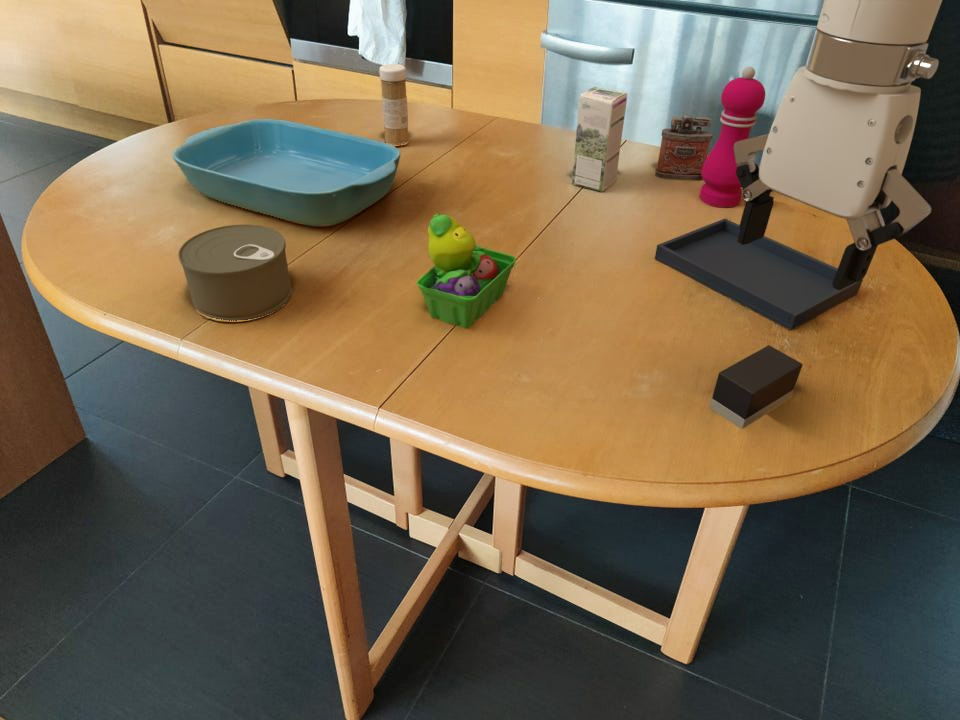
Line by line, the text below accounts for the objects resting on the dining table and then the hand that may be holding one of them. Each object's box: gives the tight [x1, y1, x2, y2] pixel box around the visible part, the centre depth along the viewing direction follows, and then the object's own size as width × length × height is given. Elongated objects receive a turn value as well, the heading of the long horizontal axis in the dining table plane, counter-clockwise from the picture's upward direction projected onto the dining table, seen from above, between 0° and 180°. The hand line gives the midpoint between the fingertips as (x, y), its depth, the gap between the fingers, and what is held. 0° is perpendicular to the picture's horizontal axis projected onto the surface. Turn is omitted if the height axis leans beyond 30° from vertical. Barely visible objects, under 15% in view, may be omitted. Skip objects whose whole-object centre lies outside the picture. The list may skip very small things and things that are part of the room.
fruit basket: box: [416, 213, 517, 330], centre depth 83 cm, size 11×9×11 cm
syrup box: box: [571, 86, 628, 193], centre depth 113 cm, size 6×6×14 cm
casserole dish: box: [171, 118, 401, 228], centre depth 110 cm, size 37×22×7 cm, turn 61°
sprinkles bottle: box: [378, 63, 410, 145], centre depth 127 cm, size 5×5×14 cm
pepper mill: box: [699, 66, 766, 208], centre depth 107 cm, size 7×7×20 cm
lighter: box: [654, 114, 714, 182], centre depth 117 cm, size 8×3×10 cm, turn 82°
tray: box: [654, 218, 864, 331], centre depth 93 cm, size 21×14×2 cm
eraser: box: [709, 344, 804, 430], centre depth 71 cm, size 4×8×4 cm, turn 126°
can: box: [177, 224, 292, 321], centre depth 85 cm, size 12×12×7 cm
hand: (795, 261), depth 64 cm, fingers open, 9 cm apart
